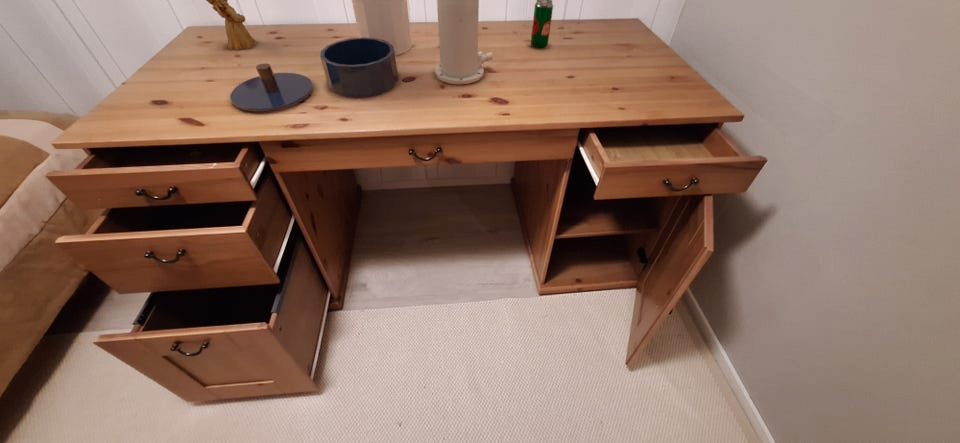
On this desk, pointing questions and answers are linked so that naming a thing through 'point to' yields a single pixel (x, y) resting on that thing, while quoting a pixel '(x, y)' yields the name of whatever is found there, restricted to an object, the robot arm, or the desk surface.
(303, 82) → the lid
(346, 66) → the tin
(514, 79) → the desk surface
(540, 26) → the soda can
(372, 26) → the container
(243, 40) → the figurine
